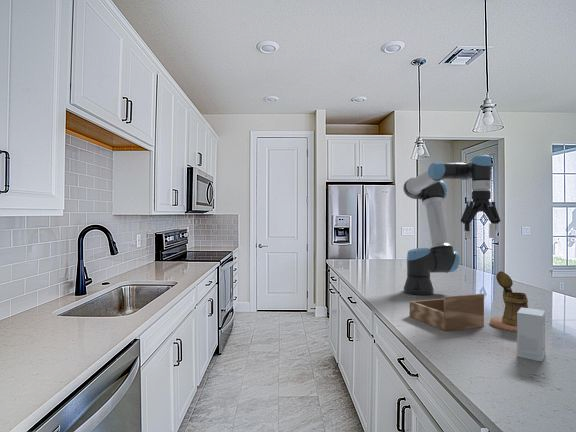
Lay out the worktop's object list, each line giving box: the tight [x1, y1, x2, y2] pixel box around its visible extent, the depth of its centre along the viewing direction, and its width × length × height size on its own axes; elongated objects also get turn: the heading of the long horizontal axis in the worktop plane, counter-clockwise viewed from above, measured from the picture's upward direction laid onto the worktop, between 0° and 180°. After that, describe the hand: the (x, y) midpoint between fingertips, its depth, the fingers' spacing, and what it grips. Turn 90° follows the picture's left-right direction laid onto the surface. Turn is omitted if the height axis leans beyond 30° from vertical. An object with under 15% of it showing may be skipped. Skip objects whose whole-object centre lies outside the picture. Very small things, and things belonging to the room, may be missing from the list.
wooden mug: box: [495, 270, 529, 326], centre depth 136 cm, size 9×14×18 cm, turn 5°
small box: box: [516, 307, 546, 362], centre depth 107 cm, size 8×6×13 cm
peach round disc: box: [489, 316, 517, 333], centre depth 136 cm, size 14×14×2 cm
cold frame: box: [409, 293, 485, 332], centre depth 142 cm, size 20×17×12 cm
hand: (480, 238), depth 162 cm, fingers open, 13 cm apart
